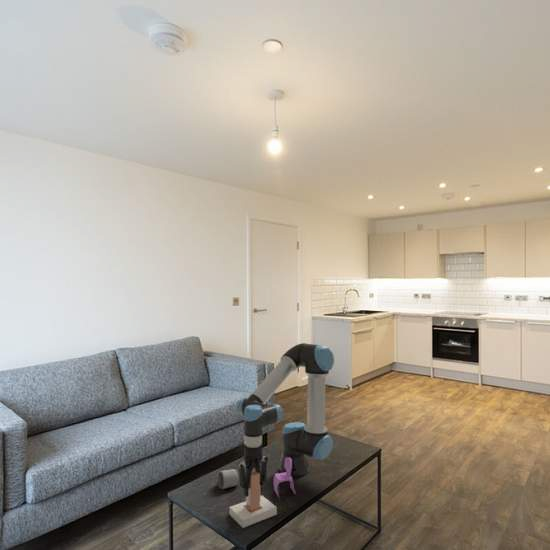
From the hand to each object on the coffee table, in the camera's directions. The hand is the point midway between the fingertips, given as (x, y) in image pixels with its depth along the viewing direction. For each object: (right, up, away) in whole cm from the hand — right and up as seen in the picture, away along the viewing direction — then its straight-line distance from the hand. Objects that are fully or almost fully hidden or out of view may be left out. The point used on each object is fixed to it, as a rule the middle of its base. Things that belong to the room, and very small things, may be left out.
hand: (253, 501), depth 163 cm
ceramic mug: (-14, -6, +24) cm, 28 cm away
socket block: (0, -5, 0) cm, 5 cm away
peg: (0, -4, 0) cm, 4 cm away
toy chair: (+13, -6, +18) cm, 23 cm away
